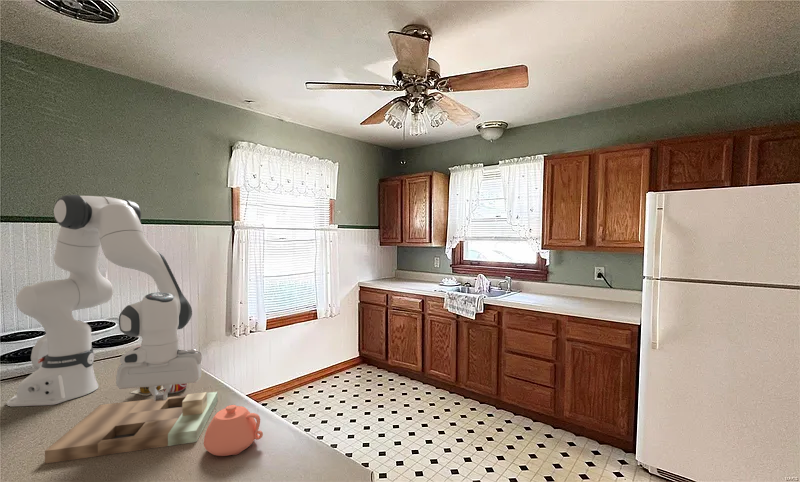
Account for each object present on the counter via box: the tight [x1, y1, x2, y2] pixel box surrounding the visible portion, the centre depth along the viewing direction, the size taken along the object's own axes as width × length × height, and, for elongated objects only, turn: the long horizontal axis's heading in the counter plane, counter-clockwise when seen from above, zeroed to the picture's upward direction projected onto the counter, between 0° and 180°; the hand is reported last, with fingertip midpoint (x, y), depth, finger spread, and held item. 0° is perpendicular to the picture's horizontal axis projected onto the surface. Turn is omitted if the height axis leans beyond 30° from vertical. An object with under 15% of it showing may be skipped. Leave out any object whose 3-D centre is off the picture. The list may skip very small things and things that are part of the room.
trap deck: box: [44, 391, 219, 464], centre depth 101 cm, size 32×24×3 cm
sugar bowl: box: [203, 404, 264, 457], centre depth 91 cm, size 12×14×10 cm
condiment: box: [129, 385, 164, 397], centre depth 125 cm, size 7×8×12 cm
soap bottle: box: [30, 334, 48, 370], centre depth 148 cm, size 16×5×20 cm, turn 158°
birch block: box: [182, 391, 208, 416], centre depth 104 cm, size 5×5×4 cm
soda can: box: [162, 383, 188, 394], centre depth 125 cm, size 7×7×12 cm
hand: (160, 400), depth 102 cm, fingers closed
